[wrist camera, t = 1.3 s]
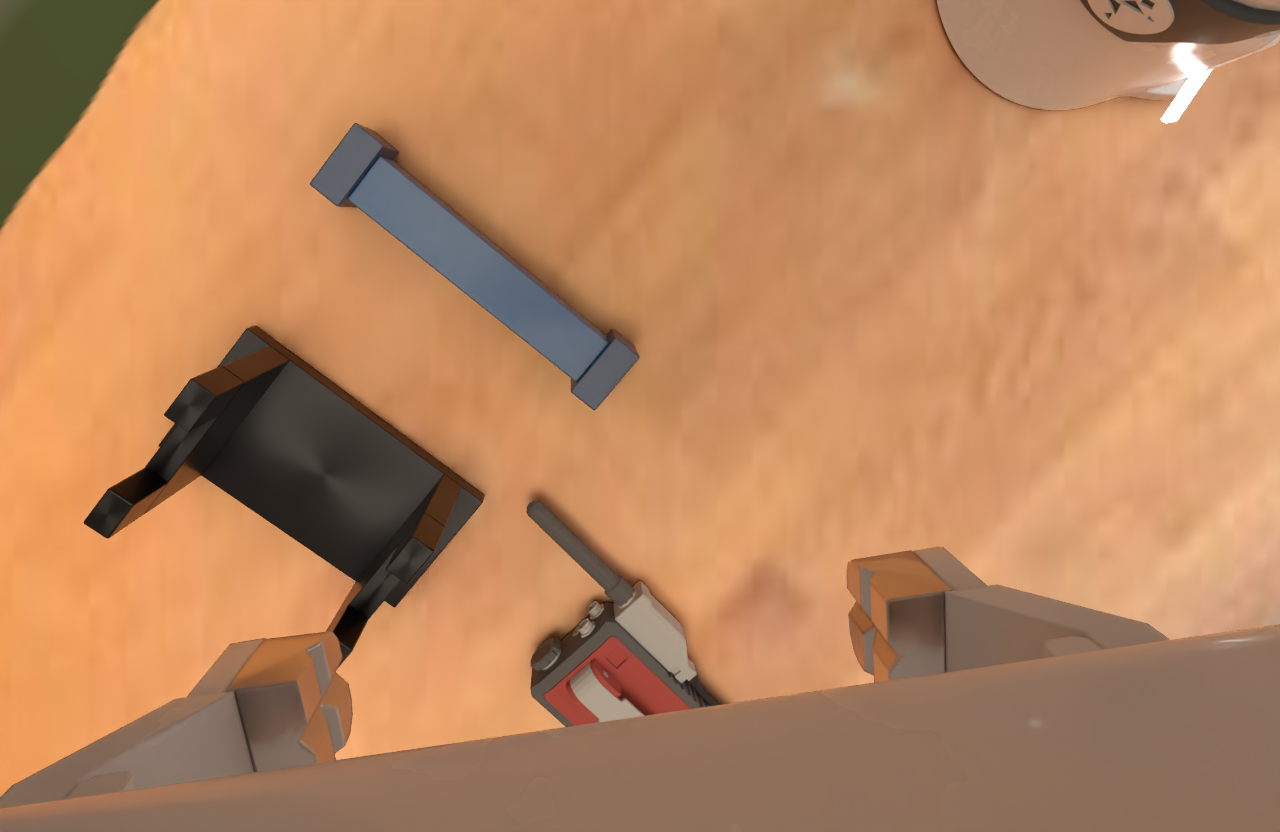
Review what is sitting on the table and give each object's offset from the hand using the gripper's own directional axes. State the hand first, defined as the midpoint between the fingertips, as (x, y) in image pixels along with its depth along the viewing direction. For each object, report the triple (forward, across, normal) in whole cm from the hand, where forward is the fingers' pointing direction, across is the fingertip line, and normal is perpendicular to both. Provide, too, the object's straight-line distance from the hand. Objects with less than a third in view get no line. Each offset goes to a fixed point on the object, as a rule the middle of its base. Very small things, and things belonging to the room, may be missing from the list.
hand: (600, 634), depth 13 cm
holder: (+33, +14, +5) cm, 36 cm away
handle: (+32, +4, -4) cm, 33 cm away
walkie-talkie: (+33, +1, +18) cm, 38 cm away
